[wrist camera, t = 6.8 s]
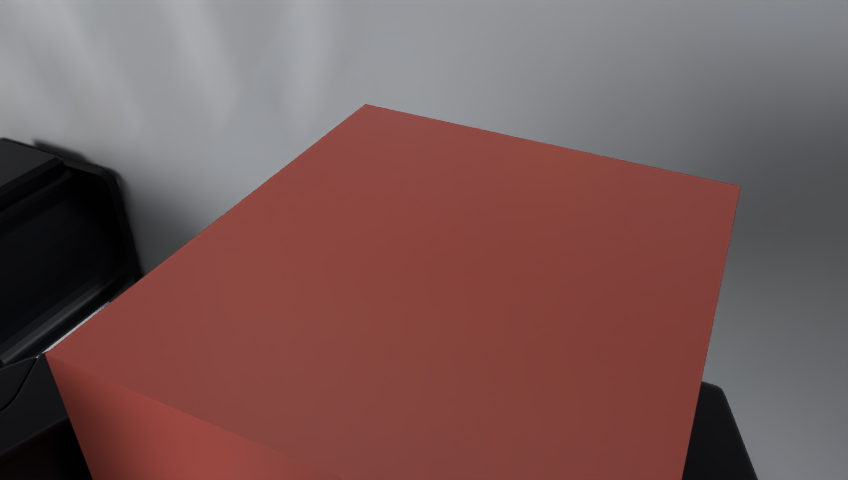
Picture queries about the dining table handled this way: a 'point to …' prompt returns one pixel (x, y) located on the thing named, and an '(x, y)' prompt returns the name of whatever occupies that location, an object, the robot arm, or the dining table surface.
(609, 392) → the red block
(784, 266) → the dining table surface
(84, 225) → the robot arm
